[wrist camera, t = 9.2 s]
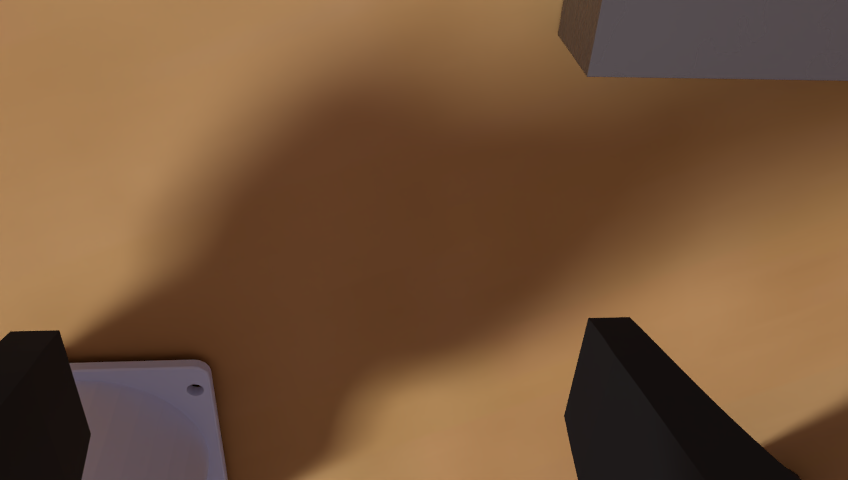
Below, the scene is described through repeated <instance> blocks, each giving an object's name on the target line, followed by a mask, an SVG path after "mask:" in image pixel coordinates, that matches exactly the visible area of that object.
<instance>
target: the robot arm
mask: <svg viewBox="0 0 848 480" xmlns="http://www.w3.org/2000/svg"><path fill="white" fill-rule="evenodd" d="M193 384H196V385H200V387H196V386H192V385H193ZM564 417H565V422H566V427H567V432H568V436H569V441H570V446H571V451H572V455H573V460H574V464H575V468H576V473H577V477H578V480H799V479H798V478H797V477H796V476H795V475H794V474H792V473H791V472H790V471H789V470H788V469H787V468H786V467H784V466H783V465H782V464H781V463H780V462H779V461H777V460H776V459H775V458H774V457H773V456H772V455H771V454H769V453H768V452H767V451H766V450H765V449H764V448H763V447H762V446H761V445H760V444H758V443H757V442H756V441H755V440H754V439H753V438H752V437H751V436H750V435H749V434H747V433H746V432H745V431H744V430H743V429H742V428H741V427H740V426H739V425H738V424H737V423H736V422H735V421H734V420H733V419H732V418H730V417H729V416H728V415H727V414H726V413H725V412H724V411H723V410H722V409H721V408H720V407H719V406H718V405H717V404H716V403H715V402H714V401H713V400H712V399H711V398H710V397H709V396H708V395H707V394H706V393H705V392H704V391H703V390H702V389H701V388H700V387H699V386H698V385H697V384H696V383H695V382H694V381H693V380H692V379H691V378H690V377H689V376H688V375H687V374H686V373H685V372H684V371H683V370H682V369H681V368H680V367H679V366H678V365H677V364H676V363H675V362H674V361H673V360H672V359H671V358H670V357H669V356H668V355H667V354H666V353H665V352H664V351H663V350H662V349H661V348H660V347H659V346H658V345H657V344H656V343H655V342H654V341H653V340H652V339H651V338H650V337H649V336H648V335H647V334H646V333H645V332H644V331H643V330H642V329H641V328H640V327H639V326H638V325H637V324H636V323H635V322H634V321H633V320H632V319H631V318H630V317H619V318H588V322H587V326H586V330H585V334H584V338H583V342H582V346H581V350H580V354H579V358H578V362H577V366H576V370H575V374H574V378H573V382H572V386H571V390H570V394H569V399H568V403H567V407H566V411H565V415H564ZM0 480H228V477H227V470H226V464H225V457H224V451H223V444H222V438H221V431H220V425H219V418H218V412H217V405H216V399H215V392H214V386H213V379H212V372H211V369H210V367H209V365H207V364H206V363H205V362H203V361H200V360H158V361H123V362H87V363H69V361H68V358H67V354H66V351H65V348H64V344H63V341H62V338H61V335H60V331H59V330H58V331H15V332H10V333H9V334H7V335H6V336H5V337H4V338H3V339H2V340H1V341H0Z"/></svg>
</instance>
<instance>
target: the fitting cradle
mask: <svg viewBox="0 0 848 480" xmlns="http://www.w3.org/2000/svg"><path fill="white" fill-rule="evenodd" d="M558 36H559V37H560V39H561V40H562V41H563V43H564V44H565V46H566V47H567V49H568V50H569V51H570V53H571V54H572V56H573V57H574V59H575V60H576V61H577V63H578V64H579V66H580V67H581V69H582V70H583V71H584V73H585V74H586V76H587V77H648V78H712V79H776V80H839V81H848V0H564V1H563V7H562V13H561V19H560V25H559V31H558Z"/></svg>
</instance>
